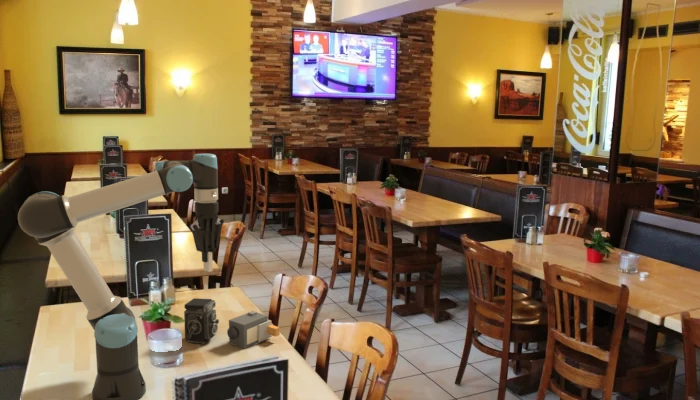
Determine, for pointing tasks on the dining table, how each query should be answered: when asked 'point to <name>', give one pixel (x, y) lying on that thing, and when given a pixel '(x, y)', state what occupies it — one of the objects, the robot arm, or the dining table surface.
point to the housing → (245, 329)
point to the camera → (200, 320)
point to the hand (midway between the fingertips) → (208, 270)
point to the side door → (267, 330)
